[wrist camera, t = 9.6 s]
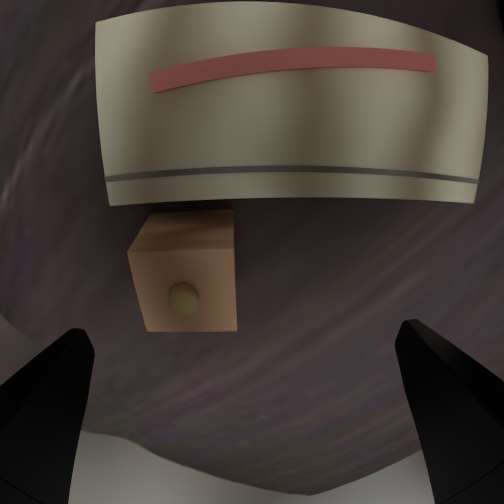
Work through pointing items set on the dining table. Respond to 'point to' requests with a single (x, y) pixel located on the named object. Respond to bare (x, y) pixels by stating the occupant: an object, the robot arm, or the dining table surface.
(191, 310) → the block
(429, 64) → the carpenter pencil
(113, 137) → the plank
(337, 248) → the dining table surface
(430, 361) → the robot arm
